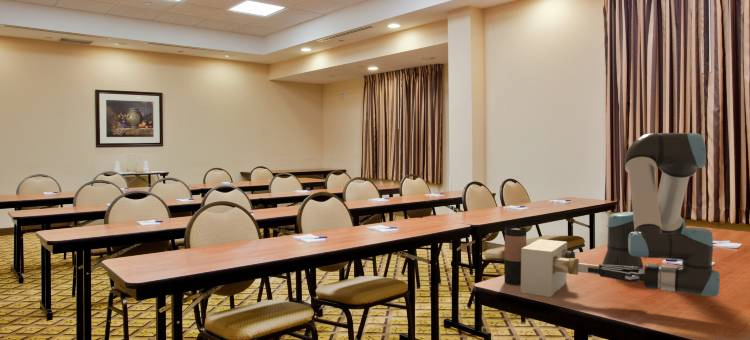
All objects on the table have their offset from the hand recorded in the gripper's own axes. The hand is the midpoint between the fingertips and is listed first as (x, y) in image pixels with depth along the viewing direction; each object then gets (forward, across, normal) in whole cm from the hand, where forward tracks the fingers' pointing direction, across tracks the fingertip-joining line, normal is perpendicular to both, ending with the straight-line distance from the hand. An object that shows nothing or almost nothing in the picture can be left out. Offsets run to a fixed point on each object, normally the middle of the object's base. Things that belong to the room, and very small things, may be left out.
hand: (578, 267), depth 174 cm
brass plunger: (+7, 0, -2) cm, 7 cm away
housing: (+12, +6, -10) cm, 17 cm away
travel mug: (+23, +7, -10) cm, 26 cm away
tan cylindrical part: (+11, +12, -3) cm, 17 cm away
